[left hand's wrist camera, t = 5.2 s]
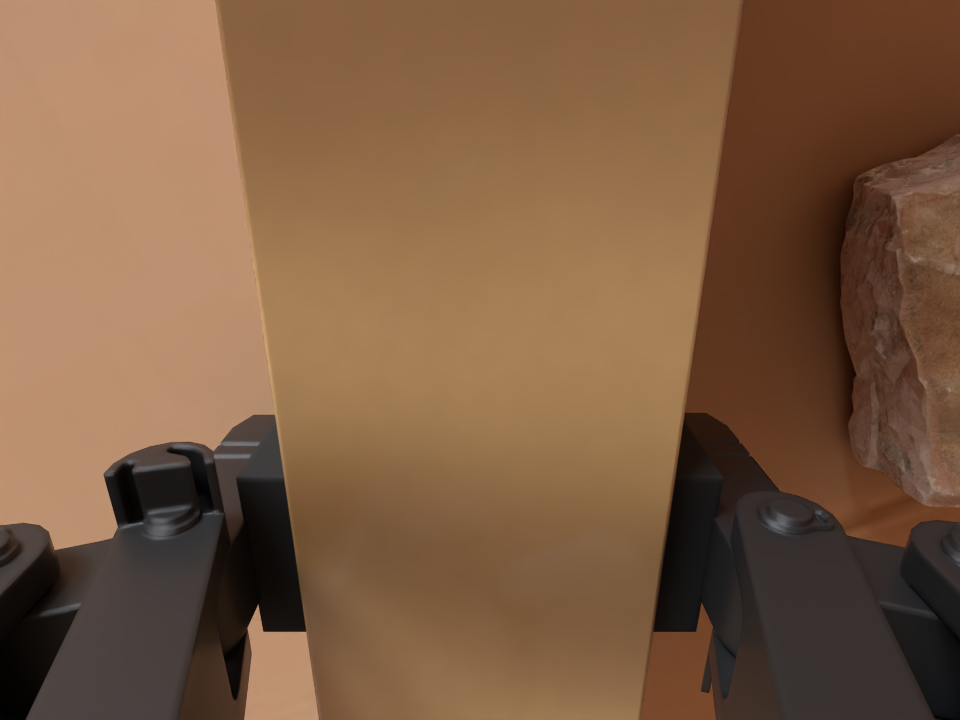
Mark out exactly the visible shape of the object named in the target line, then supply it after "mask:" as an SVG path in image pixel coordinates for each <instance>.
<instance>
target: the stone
mask: <svg viewBox="0 0 960 720" xmlns="http://www.w3.org/2000/svg"><path fill="white" fill-rule="evenodd" d="M853 191H854V197H853V201H852V205H851V208H850V211H849V214H848V217H847V219H846V222H845V231H846V236H845V239H844V242H843V245H842V249H841V262H840V263H841V300H840V305H841V310H842V317H843V328H844V335H845V341H846V344H847V347H848V350H849V353H850V356H851V359H852V363H853V366H854V369H855V372H856V374H857V375H856V377H855V378H854V380H853V388H854V389H853V392H852V397H851V398H852V402H853V408H854V412H853V414H852V416H851V418H850V420H849V423H848V428H849V434H850V445H851V448H852V451H853V453H854V456H855V459H856V461H857V462H858V463H859V464H860V465H861V466H863V467H866V468H874V469H876V470H879V471H881V472H883V473H886V475H887V476H888V477H889V478H890V479H891V480H892V481H893V482H894V483H895V484H896V485H897V486H898V487H899V488H900V489H901V490H903V491H904V492H905V493H907V494H908V495H909V496H911V497H912V498H913V499H915V500H916V501H917V502H919V503H921V504H924V505H926V506H931V507H960V134H956V135H954V136H953V137H952V138H950V139H949V140H947V141H946V142H944V143H943V144H941V145H939V146H937V147H935V148H933V149H931V150H929V151H928V152H926V153H924V154H922V155H920V156H918V157H915V158H906V159H902V160H898V161H894V162H890V163H886V164H883V165H881V166H878V167H876V168H873V169H871V170H868V171H866V172H864V173H863V174H861V175H859V176H858V177H857V178H856V180H855V182H854V185H853Z"/></svg>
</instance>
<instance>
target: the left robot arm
mask: <svg viewBox="0 0 960 720" xmlns="http://www.w3.org/2000/svg"><path fill="white" fill-rule="evenodd" d="M104 478H105V482H106V485H107V489H108V492H109V496H110V500H111V503H112V507H113V510H114V514H115V518H116V521H117V525H118V528H117V531H116V533H115V535H114V537H113V538H111V539H108V540H104V541H99V542H94V543H89V544H84V545H79V546H74V547H69V548H64V549H59V550H54V547H53V544H52V541H51V537H50V534H49V532H48V531H47V530H45V529H44V528H43V527H41V526H40V525H34V524H27V523H19V524H10V525H0V720H244V715H245V707H246V698H247V689H248V681H249V672H250V663H251V655H252V653H251V646H250V640H249V635H248V630H247V628H248V625H249V623H250V621H251V619H252V617H253V614H254V612H255V610H256V608H257V606H258V604H259V609H260V615H261V621H262V626H263V632H306V625H305V618H304V612H303V605H302V598H301V591H300V584H299V577H298V570H297V563H296V556H295V549H294V542H293V535H292V529H291V522H290V515H289V508H288V501H287V494H286V487H285V480H284V473H283V466H282V459H281V452H280V446H279V439H278V432H277V425H276V418H275V415H253V416H251V417H250V418H248V419H246V420H245V421H243V422H242V423H240V424H238V425H237V426H235V427H233V428H232V429H231V431H230V432H229V433H228V434H227V436H226V437H225V438H224V439H223V441H222V442H221V446H218V447H217V448H216V449H215V451H214V452H213V451H212V450H211V449H209V448H208V447H207V446H205V445H202V444H198V443H193V442H170V443H165V444H160V445H155V446H150V447H147V448H145V449H142V450H139V451H136V452H134V453H131V454H129V455H127V456H125V457H124V458H122V459H120V460H119V461H117V462H115V463H114V464H113V465H112V466H111V467H110V468H109V469H108V470H107V471H106V472H105V473H104ZM701 602H702V604H703V606H704V608H705V610H706V612H707V614H708V617H709V619H710V621H711V623H712V625H713V630H712V635H711V640H710V645H709V650H708V655H707V661H706V666H705V671H704V676H703V682H702V688H701V691H702V692H707V693H709V691H710V686H711V681H712V688H713V697H714V705H715V714H716V720H960V522H948V521H940V520H935V521H928V522H921V523H919V524H918V525H917V526H915V527H914V528H913V529H912V530H911V533H910V536H909V539H908V542H907V545H906V548H905V547H899V546H894V545H889V544H884V543H879V542H874V541H869V540H864V539H859V538H855V537H851V536H847V535H846V534H845V532H844V529H843V527H842V526H841V524H840V523H839V522H838V521H837V519H836V518H835V517H834V516H833V515H832V514H831V513H830V512H828V511H827V510H825V509H824V508H822V507H821V506H819V505H818V504H816V503H814V502H811V501H809V500H807V499H804V498H802V497H800V496H796V495H792V494H788V493H783V492H780V491H779V489H778V488H777V487H776V486H775V484H774V483H773V482H772V481H771V479H770V478H769V477H768V476H767V474H766V473H765V472H764V471H763V470H762V468H761V467H760V466H759V465H758V463H757V462H756V461H755V460H754V458H753V457H752V456H749V452H748V451H747V450H746V449H745V447H744V446H743V445H742V444H739V440H738V439H737V437H736V436H735V435H734V434H733V433H732V431H731V430H730V429H729V428H728V426H727V425H725V424H723V423H722V422H720V421H718V420H717V419H715V418H713V417H712V416H710V415H708V414H707V413H685V414H684V421H683V428H682V435H681V442H680V449H679V456H678V463H677V470H676V477H675V484H674V491H673V497H672V504H671V511H670V518H669V525H668V532H667V539H666V546H665V553H664V560H663V567H662V574H661V581H660V588H659V594H658V601H657V608H656V615H655V622H654V629H653V632H696V629H697V624H698V618H699V613H700V607H701Z"/></svg>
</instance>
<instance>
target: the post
mask: <svg viewBox="0 0 960 720" xmlns="http://www.w3.org/2000/svg"><path fill="white" fill-rule="evenodd" d="M215 3H216V10H217V17H218V23H219V30H220V37H221V44H222V51H223V58H224V65H225V72H226V79H227V86H228V93H229V100H230V106H231V113H232V120H233V127H234V134H235V141H236V148H237V155H238V162H239V169H240V176H241V183H242V190H243V196H244V203H245V210H246V217H247V224H248V231H249V238H250V245H251V252H252V259H253V266H254V273H255V279H256V286H257V293H258V300H259V307H260V314H261V321H262V328H263V335H264V342H265V349H266V356H267V362H268V369H269V376H270V383H271V390H272V397H273V404H274V411H275V418H276V425H277V432H278V439H279V446H280V452H281V459H282V466H283V473H284V480H285V487H286V494H287V501H288V508H289V515H290V522H291V529H292V535H293V542H294V549H295V556H296V563H297V570H298V577H299V584H300V591H301V598H302V605H303V612H304V618H305V625H306V632H307V639H308V646H309V653H310V660H311V667H312V674H313V681H314V688H315V695H316V701H317V708H318V715H319V720H640V719H641V712H642V705H643V698H644V691H645V684H646V678H647V671H648V664H649V657H650V650H651V643H652V636H653V629H654V622H655V615H656V608H657V601H658V594H659V588H660V581H661V574H662V567H663V560H664V553H665V546H666V539H667V532H668V525H669V518H670V511H671V504H672V497H673V491H674V484H675V477H676V470H677V463H678V456H679V449H680V442H681V435H682V428H683V421H684V414H685V407H686V400H687V394H688V387H689V380H690V373H691V366H692V359H693V352H694V345H695V338H696V331H697V324H698V317H699V310H700V304H701V297H702V290H703V283H704V276H705V269H706V262H707V255H708V248H709V241H710V234H711V227H712V220H713V213H714V207H715V200H716V193H717V186H718V179H719V172H720V165H721V158H722V151H723V144H724V137H725V130H726V123H727V116H728V110H729V103H730V96H731V89H732V82H733V75H734V68H735V61H736V54H737V47H738V40H739V33H740V26H741V20H742V13H743V6H744V0H215Z"/></svg>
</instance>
